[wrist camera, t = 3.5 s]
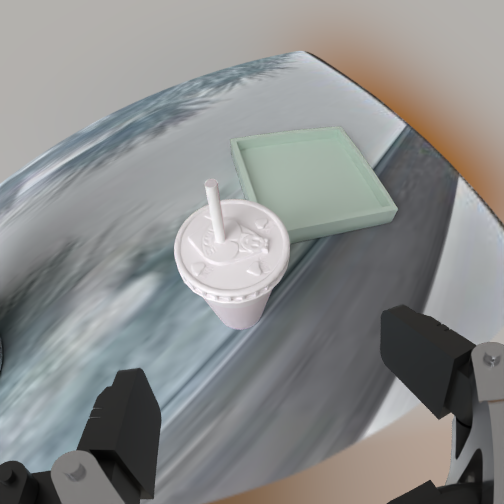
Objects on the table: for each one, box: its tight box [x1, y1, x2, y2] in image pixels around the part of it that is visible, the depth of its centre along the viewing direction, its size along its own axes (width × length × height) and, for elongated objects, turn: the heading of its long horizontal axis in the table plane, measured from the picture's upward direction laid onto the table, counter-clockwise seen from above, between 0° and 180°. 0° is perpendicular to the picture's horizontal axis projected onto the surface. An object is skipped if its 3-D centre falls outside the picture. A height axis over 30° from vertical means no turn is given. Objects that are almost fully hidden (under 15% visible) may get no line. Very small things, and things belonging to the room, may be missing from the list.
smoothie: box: [174, 179, 290, 330], centre depth 18 cm, size 6×6×14 cm
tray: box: [230, 126, 398, 244], centre depth 31 cm, size 14×14×2 cm
